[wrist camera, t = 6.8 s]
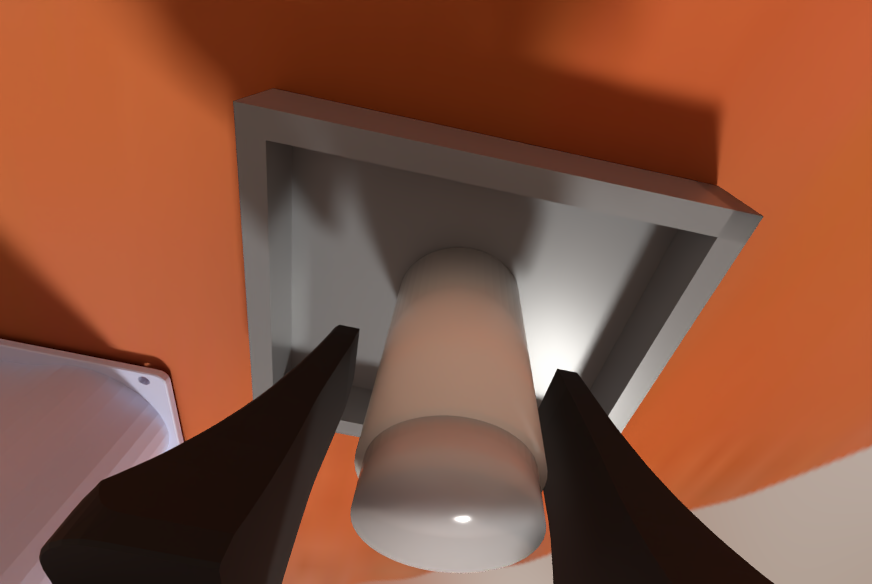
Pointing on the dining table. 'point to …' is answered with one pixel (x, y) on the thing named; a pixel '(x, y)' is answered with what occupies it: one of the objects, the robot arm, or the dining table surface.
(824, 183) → the dining table surface
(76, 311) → the dining table surface
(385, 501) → the shaker
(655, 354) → the tray
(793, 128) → the dining table surface
